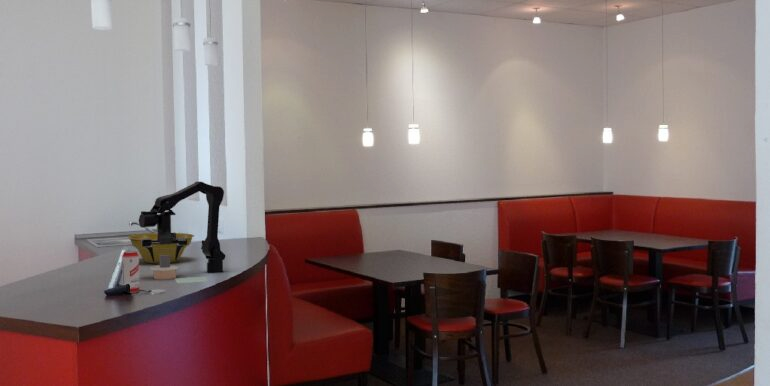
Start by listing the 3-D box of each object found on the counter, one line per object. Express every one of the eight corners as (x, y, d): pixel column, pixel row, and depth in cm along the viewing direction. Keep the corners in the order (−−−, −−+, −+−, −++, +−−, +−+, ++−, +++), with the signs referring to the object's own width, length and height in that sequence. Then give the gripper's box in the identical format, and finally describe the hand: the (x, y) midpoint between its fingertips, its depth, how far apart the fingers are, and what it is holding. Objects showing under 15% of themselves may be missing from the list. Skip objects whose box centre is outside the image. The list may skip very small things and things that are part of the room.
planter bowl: (207, 260, 374) (207, 234, 374) (157, 268, 347) (157, 240, 346) (165, 256, 391) (164, 231, 391) (114, 263, 364) (114, 236, 364)
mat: (204, 278, 318) (204, 276, 318) (209, 282, 306) (209, 281, 306) (174, 279, 313) (174, 278, 313) (177, 284, 301) (177, 283, 301)
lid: (177, 265, 324) (177, 253, 323) (180, 269, 312) (180, 256, 312) (149, 267, 319) (149, 254, 319) (151, 271, 308) (151, 257, 308)
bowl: (174, 276, 322) (174, 266, 322) (176, 279, 313) (176, 269, 313) (153, 277, 319) (153, 267, 318) (154, 281, 310) (154, 270, 310)
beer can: (142, 291, 286) (142, 251, 285) (132, 294, 280) (131, 252, 279) (129, 290, 288) (129, 250, 287) (119, 293, 282) (118, 252, 281)
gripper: (142, 228, 304) (143, 265, 305) (188, 226, 311) (188, 263, 312) (141, 226, 314) (141, 261, 315) (185, 224, 321) (186, 259, 322)
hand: (164, 261), depth 316 cm, fingers open, 9 cm apart
